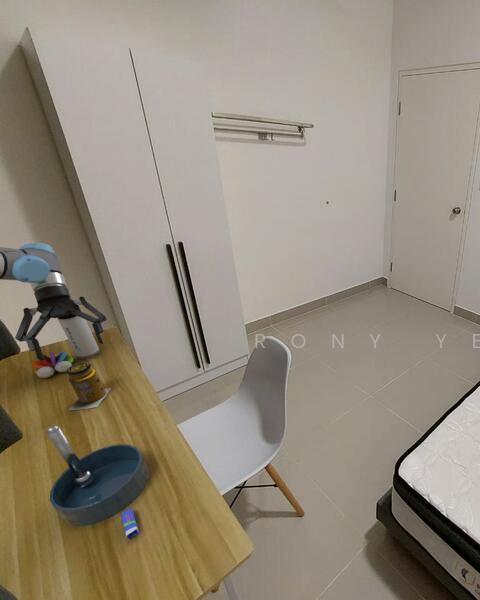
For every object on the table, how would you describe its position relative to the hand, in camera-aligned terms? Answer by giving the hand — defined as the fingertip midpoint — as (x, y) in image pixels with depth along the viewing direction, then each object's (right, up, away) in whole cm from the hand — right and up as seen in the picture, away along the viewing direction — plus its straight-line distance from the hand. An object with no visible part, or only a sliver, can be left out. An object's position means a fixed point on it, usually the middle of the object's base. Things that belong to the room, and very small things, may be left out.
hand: (72, 350), depth 101 cm
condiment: (+5, -15, +1) cm, 16 cm away
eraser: (+43, -34, -29) cm, 62 cm away
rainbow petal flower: (-17, -9, +11) cm, 22 cm away
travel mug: (-14, -4, +20) cm, 25 cm away
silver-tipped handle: (+27, -28, -23) cm, 45 cm away
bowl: (+32, -30, -23) cm, 49 cm away
